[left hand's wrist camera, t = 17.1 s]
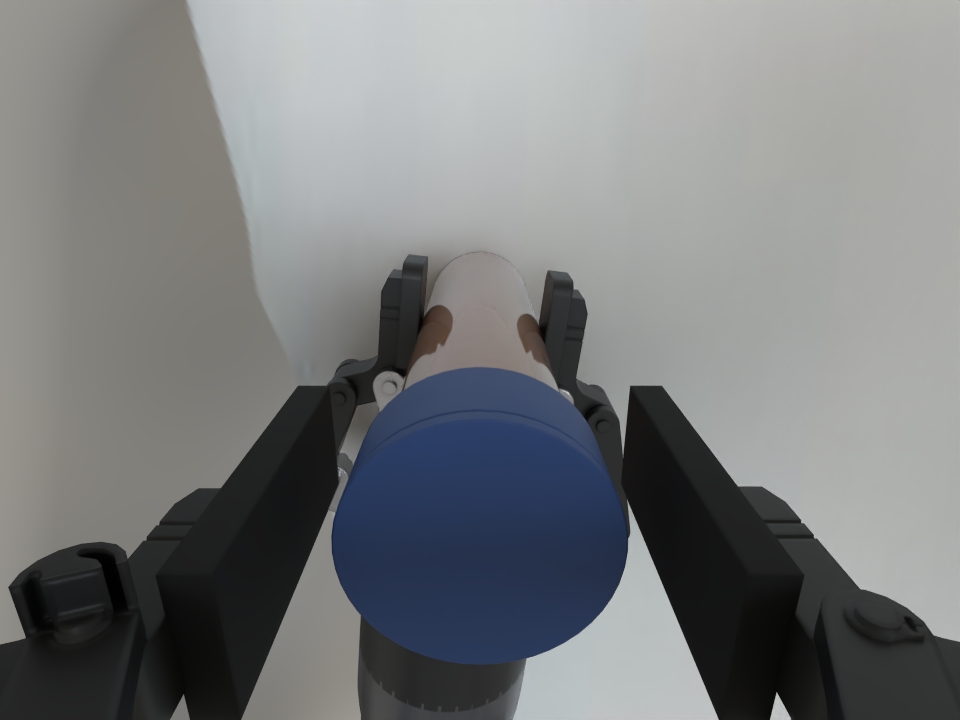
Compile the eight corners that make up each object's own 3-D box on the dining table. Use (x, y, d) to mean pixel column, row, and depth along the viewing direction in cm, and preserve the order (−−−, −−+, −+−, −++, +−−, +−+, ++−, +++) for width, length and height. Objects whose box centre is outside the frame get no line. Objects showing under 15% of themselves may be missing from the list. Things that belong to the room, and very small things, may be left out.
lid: (318, 517, 13) (284, 597, 11) (429, 319, 11) (416, 364, 9) (520, 609, 14) (529, 702, 11) (649, 438, 12) (688, 506, 10)
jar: (470, 232, 26) (454, 374, 10) (546, 290, 27) (646, 507, 11) (414, 307, 27) (317, 545, 11) (488, 361, 28) (500, 652, 12)
